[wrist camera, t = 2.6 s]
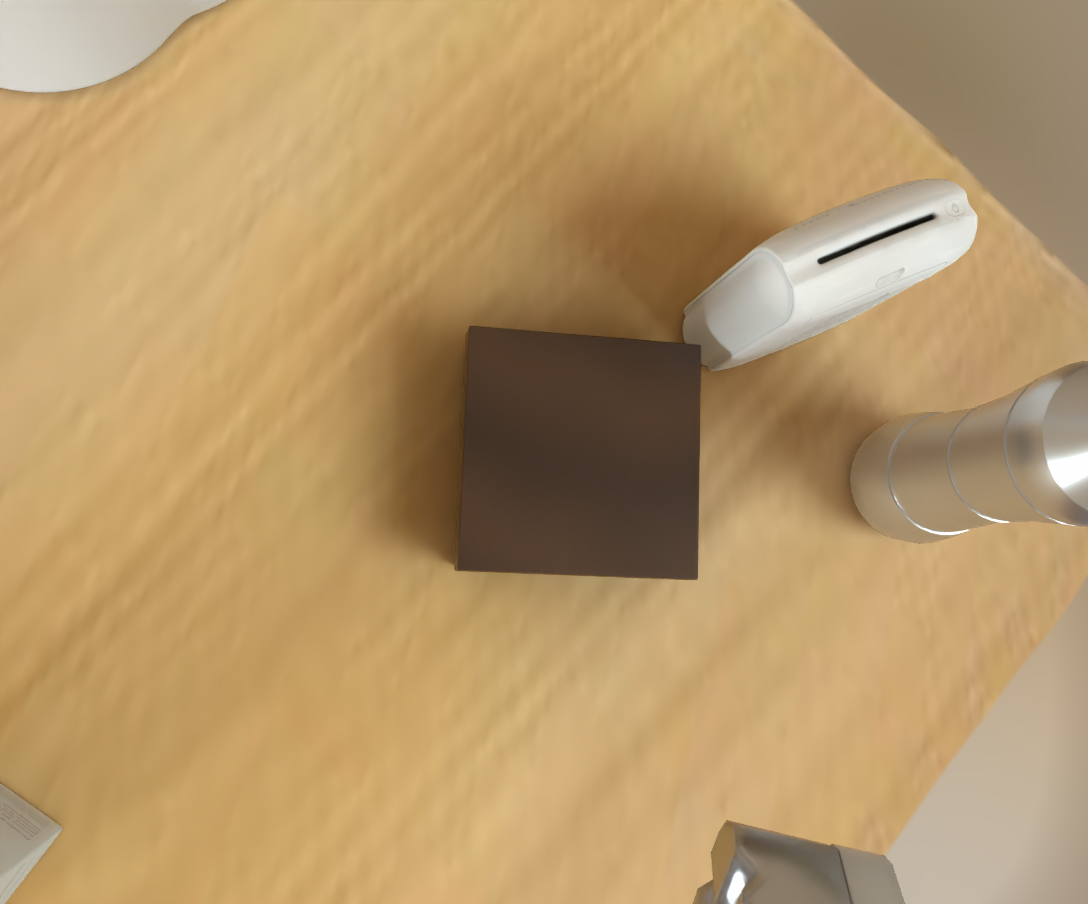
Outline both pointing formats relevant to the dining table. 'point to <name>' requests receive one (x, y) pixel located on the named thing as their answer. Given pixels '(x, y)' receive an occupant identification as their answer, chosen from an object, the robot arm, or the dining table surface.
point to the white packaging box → (21, 840)
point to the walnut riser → (578, 456)
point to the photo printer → (829, 270)
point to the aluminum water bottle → (980, 463)
